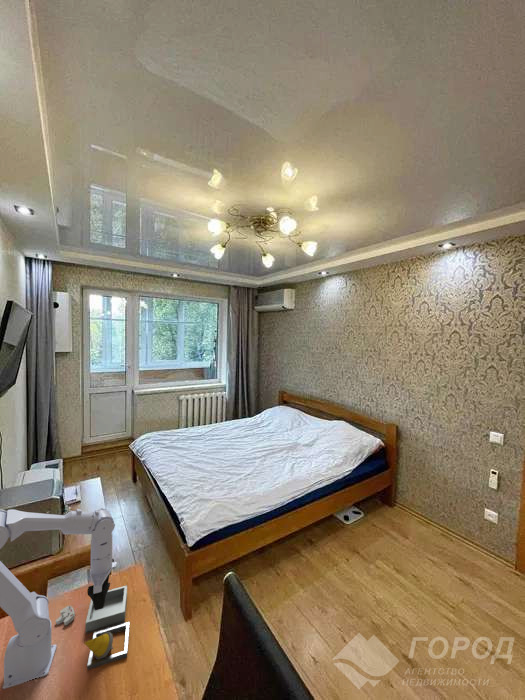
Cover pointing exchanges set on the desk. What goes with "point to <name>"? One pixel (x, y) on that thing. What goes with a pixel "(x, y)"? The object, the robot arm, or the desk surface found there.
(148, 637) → the desk surface
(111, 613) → the bin
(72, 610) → the game controller
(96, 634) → the grey square frame
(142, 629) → the desk surface
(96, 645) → the drill bit
